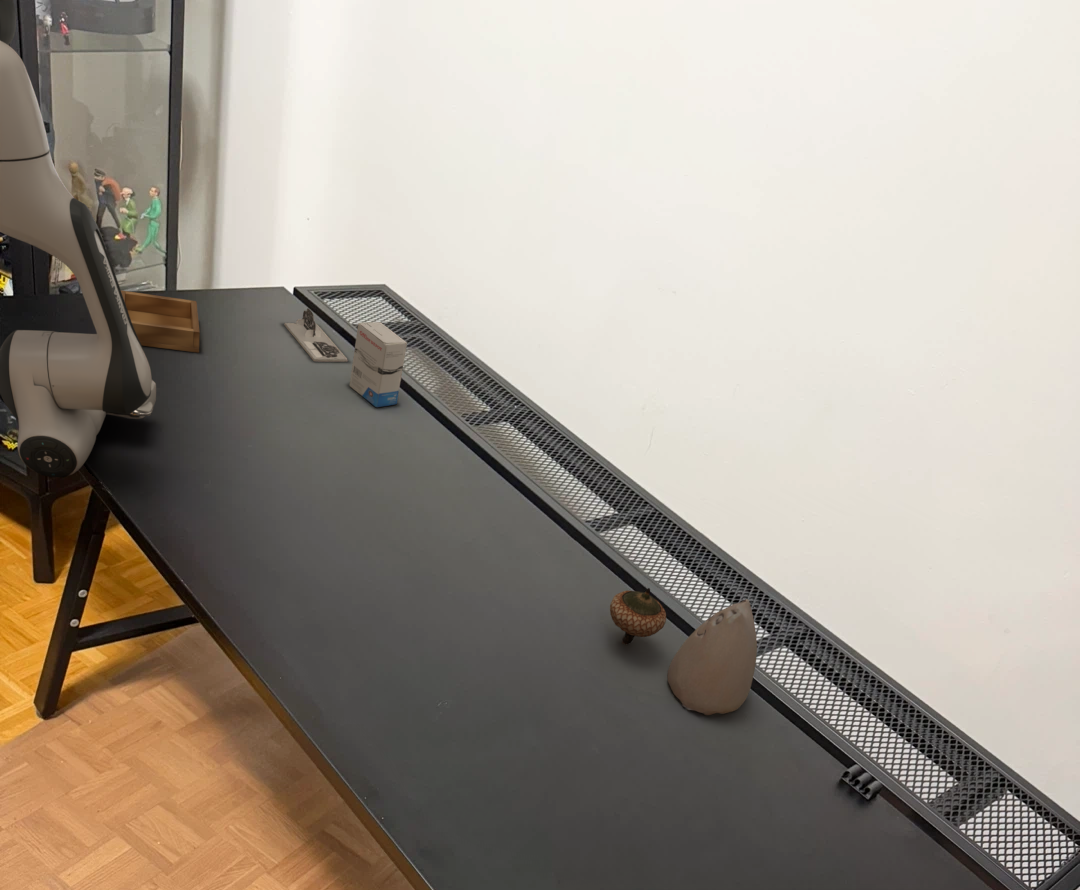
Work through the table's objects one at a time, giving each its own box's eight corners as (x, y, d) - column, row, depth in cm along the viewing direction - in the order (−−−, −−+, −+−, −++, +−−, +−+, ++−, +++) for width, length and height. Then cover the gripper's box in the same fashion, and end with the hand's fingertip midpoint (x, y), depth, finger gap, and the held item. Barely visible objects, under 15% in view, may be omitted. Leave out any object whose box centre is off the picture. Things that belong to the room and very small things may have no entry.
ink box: (398, 405, 183) (409, 342, 175) (375, 408, 180) (385, 344, 172) (370, 382, 187) (380, 320, 179) (347, 385, 183) (356, 321, 176)
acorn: (610, 663, 142) (633, 606, 135) (589, 626, 147) (610, 569, 141) (661, 662, 145) (685, 606, 139) (639, 625, 150) (661, 570, 144)
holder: (118, 342, 173) (118, 321, 171) (119, 311, 182) (119, 289, 179) (198, 352, 178) (199, 331, 176) (195, 321, 187) (196, 301, 184)
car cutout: (284, 325, 195) (286, 302, 192) (316, 325, 199) (319, 303, 196) (314, 361, 187) (316, 337, 184) (347, 361, 191) (350, 338, 188)
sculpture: (662, 652, 147) (698, 567, 137) (738, 670, 149) (780, 587, 139) (668, 710, 137) (708, 623, 127) (750, 728, 139) (795, 643, 129)
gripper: (150, 397, 146) (164, 357, 156) (-7, 369, 141) (18, 329, 151) (149, 437, 150) (163, 395, 160) (-3, 411, 145) (21, 369, 155)
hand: (92, 363), depth 155 cm, fingers closed on supplement bottle, 5 cm apart
